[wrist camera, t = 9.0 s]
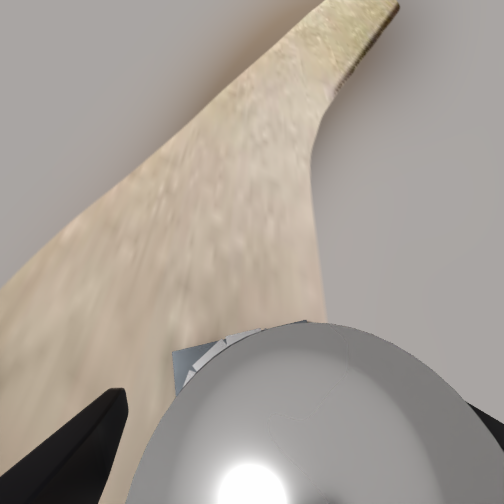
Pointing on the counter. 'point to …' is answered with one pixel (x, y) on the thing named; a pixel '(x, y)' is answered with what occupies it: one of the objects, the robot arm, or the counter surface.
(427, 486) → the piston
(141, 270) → the counter surface
